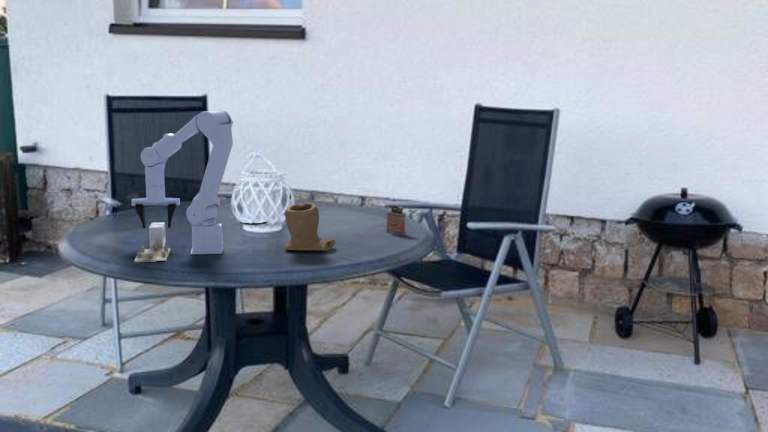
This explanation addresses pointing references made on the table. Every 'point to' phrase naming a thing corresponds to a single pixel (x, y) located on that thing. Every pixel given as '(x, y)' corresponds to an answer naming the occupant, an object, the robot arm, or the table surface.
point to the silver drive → (157, 235)
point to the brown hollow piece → (305, 229)
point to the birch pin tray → (152, 254)
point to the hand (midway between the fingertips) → (156, 227)
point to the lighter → (396, 220)
